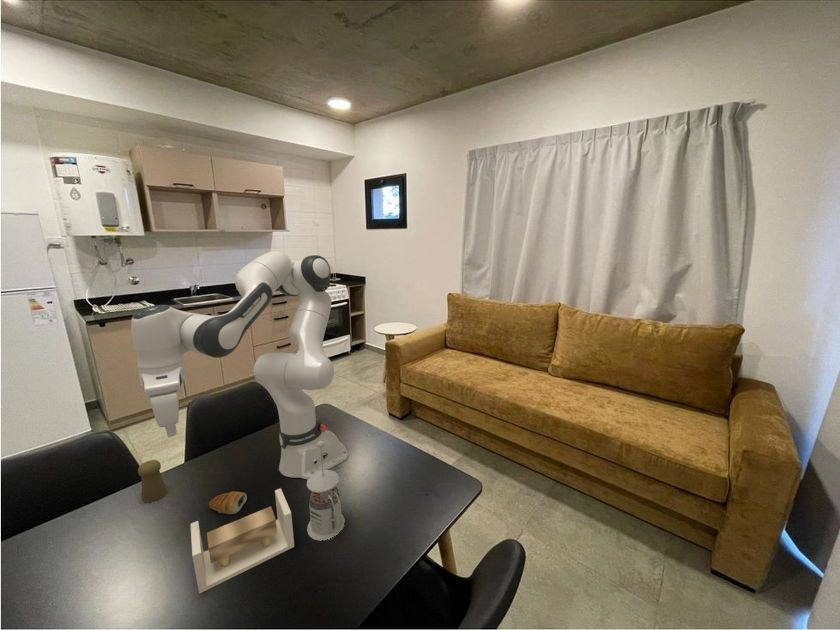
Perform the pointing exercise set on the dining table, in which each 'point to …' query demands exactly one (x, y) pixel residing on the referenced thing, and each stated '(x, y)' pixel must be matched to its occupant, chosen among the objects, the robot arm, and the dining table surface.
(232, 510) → the pastry
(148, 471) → the cork
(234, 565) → the peg frame
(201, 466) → the dining table surface
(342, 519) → the french press
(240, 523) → the shelf board
